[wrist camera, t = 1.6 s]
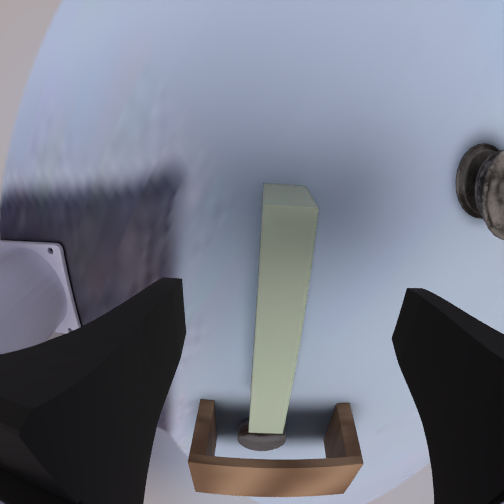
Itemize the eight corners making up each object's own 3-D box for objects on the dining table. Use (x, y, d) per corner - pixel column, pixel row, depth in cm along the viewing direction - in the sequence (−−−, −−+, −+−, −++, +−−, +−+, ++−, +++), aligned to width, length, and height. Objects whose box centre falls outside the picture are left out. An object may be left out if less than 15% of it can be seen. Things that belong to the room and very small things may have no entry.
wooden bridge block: (204, 436, 28) (195, 491, 22) (200, 399, 25) (187, 461, 19) (335, 439, 28) (343, 493, 21) (349, 403, 25) (363, 463, 19)
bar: (251, 384, 25) (248, 432, 20) (263, 182, 18) (263, 204, 14) (280, 385, 25) (282, 433, 20) (304, 185, 18) (318, 207, 14)
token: (238, 437, 28) (237, 449, 27) (238, 412, 26) (237, 425, 25) (282, 439, 28) (283, 451, 27) (287, 414, 26) (288, 426, 25)
